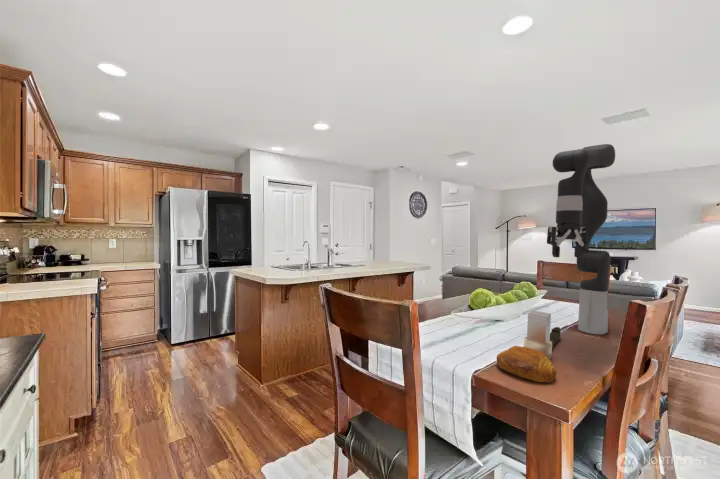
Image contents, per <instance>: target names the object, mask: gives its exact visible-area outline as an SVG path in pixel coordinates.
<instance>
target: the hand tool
mask: <svg viewBox="0 0 720 479" xmlns="http://www.w3.org/2000/svg"><path fill="white" fill-rule="evenodd" d="M560 339H561V327H559V326H558V327H557V326H556V327H555V326H554V328H551V330H550V341H551V342H552V348H554V346H555V345H556V343H557V342H559V341H560Z"/></svg>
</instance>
